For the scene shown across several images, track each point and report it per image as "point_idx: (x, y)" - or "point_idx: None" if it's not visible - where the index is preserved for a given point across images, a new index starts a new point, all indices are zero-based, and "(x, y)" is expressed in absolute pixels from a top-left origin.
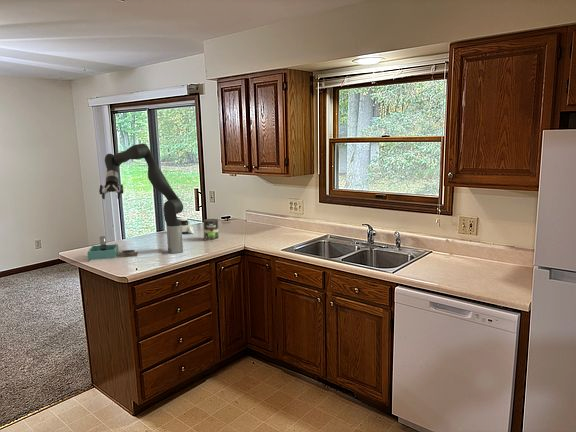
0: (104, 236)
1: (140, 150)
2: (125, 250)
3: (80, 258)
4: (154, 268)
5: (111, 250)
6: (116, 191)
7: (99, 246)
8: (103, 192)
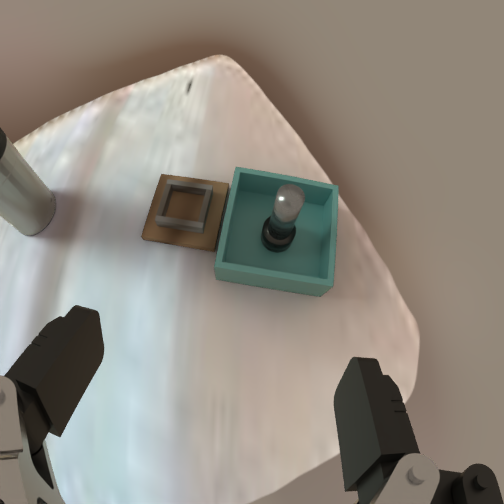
0: (281, 194)
1: None
2: (190, 223)
3: (361, 267)
4: (150, 79)
5: (248, 169)
6: (50, 492)
7: (300, 275)
8: (406, 465)
